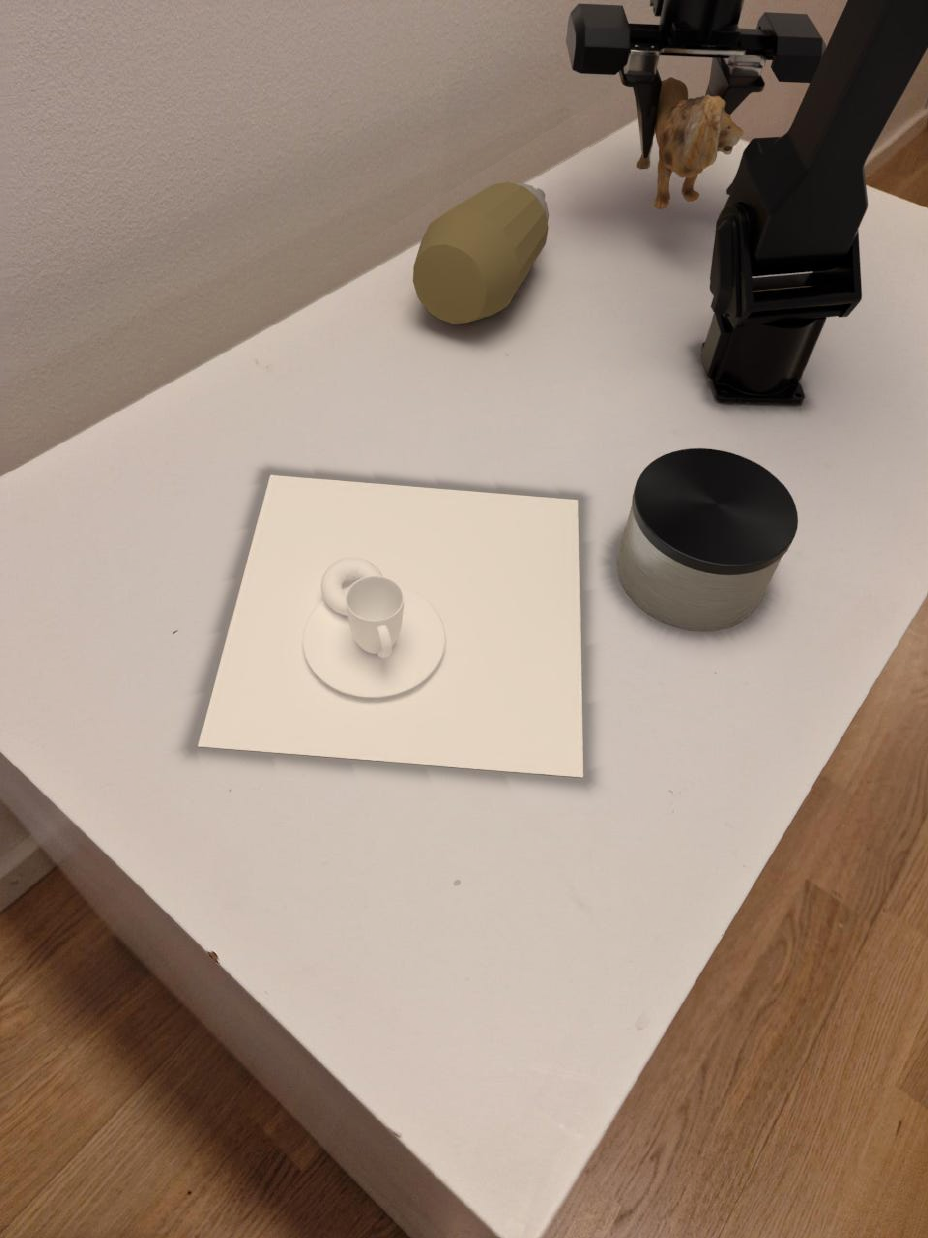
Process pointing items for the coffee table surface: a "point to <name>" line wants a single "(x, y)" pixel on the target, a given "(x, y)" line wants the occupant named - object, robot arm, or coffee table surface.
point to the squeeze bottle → (481, 252)
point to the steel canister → (704, 538)
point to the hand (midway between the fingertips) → (668, 156)
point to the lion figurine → (688, 138)
